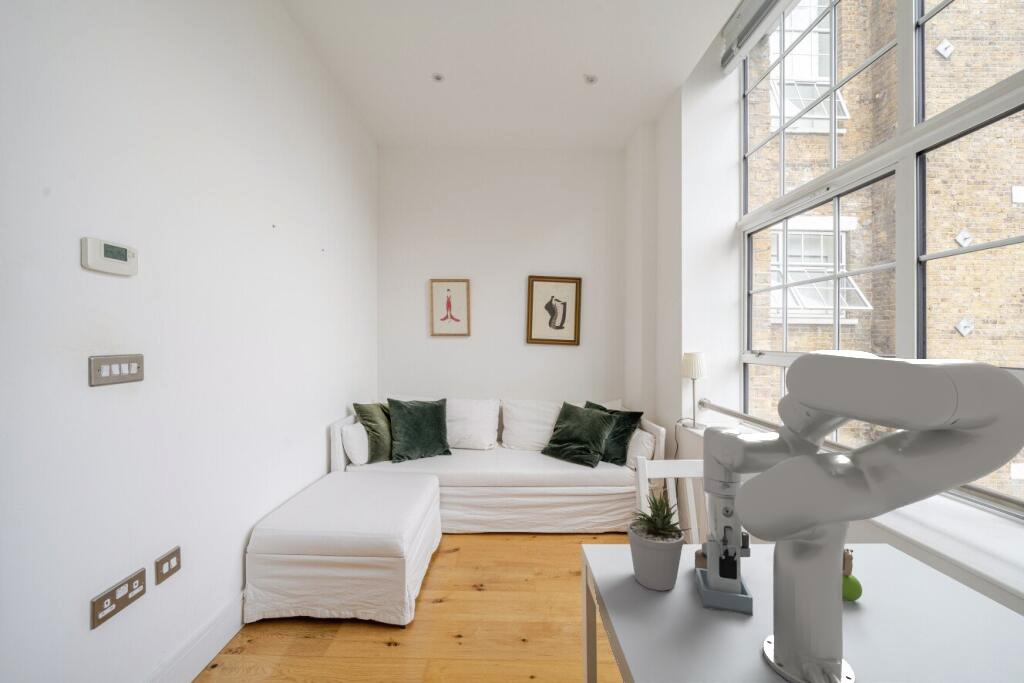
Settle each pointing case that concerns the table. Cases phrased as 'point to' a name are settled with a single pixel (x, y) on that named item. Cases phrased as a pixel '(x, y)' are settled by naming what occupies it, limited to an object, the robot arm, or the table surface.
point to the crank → (743, 549)
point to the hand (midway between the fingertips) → (722, 565)
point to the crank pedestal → (700, 560)
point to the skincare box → (713, 569)
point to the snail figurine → (849, 579)
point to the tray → (723, 596)
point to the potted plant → (656, 546)
